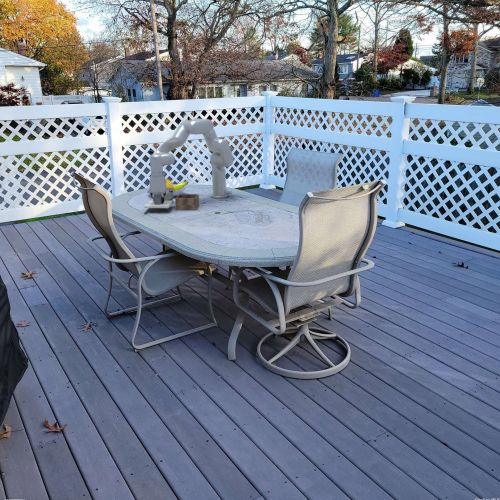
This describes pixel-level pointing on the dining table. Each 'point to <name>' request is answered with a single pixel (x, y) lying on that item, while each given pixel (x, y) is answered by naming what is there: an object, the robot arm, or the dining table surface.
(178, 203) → the storage box
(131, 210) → the dining table surface
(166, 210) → the rubber mat
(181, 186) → the fruit bowl
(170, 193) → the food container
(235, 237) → the dining table surface
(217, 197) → the robot arm
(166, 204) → the lid
